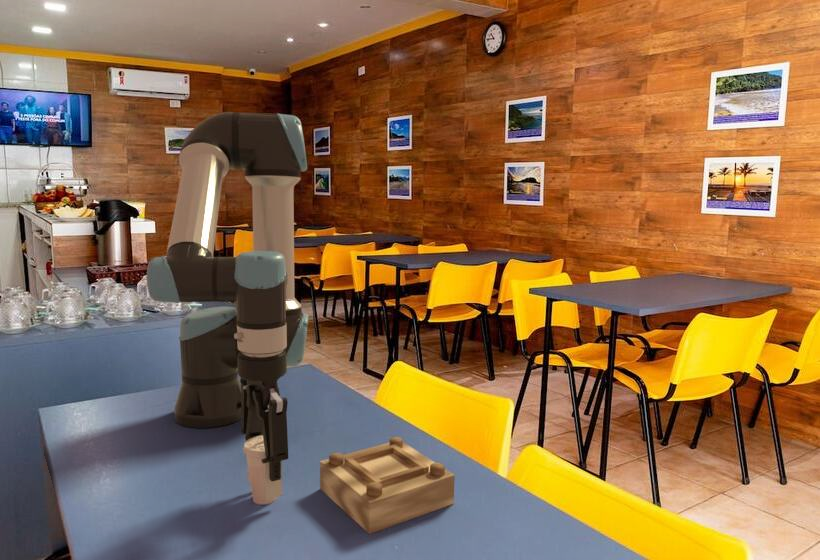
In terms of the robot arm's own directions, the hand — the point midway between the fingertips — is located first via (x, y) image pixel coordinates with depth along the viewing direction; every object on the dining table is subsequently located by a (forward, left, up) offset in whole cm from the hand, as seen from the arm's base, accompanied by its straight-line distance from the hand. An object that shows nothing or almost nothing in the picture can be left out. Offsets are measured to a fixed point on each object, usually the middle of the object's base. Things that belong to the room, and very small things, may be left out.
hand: (264, 487), depth 101 cm
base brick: (+10, +17, -2) cm, 20 cm away
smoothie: (0, 0, -2) cm, 2 cm away
